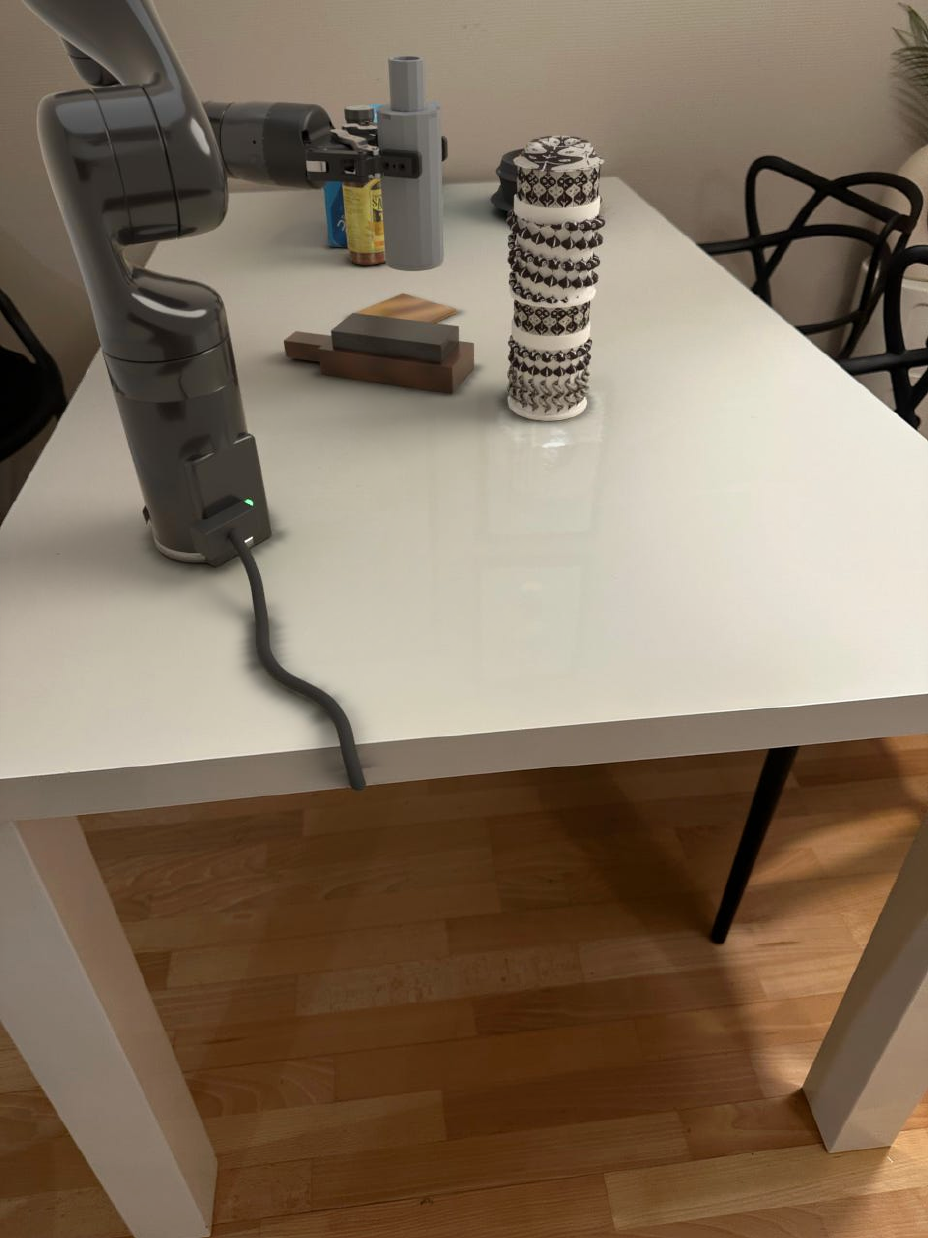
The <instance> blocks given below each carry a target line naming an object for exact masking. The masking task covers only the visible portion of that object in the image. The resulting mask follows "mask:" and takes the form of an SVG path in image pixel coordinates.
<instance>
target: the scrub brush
mask: <svg viewBox="0 0 928 1238" xmlns="http://www.w3.org/2000/svg"><path fill="white" fill-rule="evenodd" d="M330 334H331V335H330ZM330 334H329V335H328V334H321V333H313V332H306V331H300V330H295V331H294V332H293V333H290V335H289V336H288V337H286V338H285V339H284V340H283V346H284V353H285V358H291V359H298V360H305V361H312V362H319V368H320V369H319V371H320V374H321V375H325V376H329V377H330V376H331V377H339V378H345V379H352V380H358V381H359V380H360V381H365V382H372V383H379V384H385V385H392V386H399V387H405V388H412V389H418V390H425V391H431V392H432V391H433V392H439V393H446V394H454V393H455V391H456V390H457V389H458V388H459V386H461V384H462V383H463V382H464V381H465V380H466V378H467V377H468V376H469V375H470V373H471V372H473V370H474V369H475V343H474V342H469V341H462V340H460V326H459V325H454V324H446V323H445V324H444V323H438V322H435V323H430V322H422V321H414V320H406V319H398V318H390V317H382V316H374V315H366V314H358V313H356V312H352V313H351V314H349V315H348V316H347V317H346V318H344V319H343V320H342V321H341V322H340V323H338V324H337V325H335V327H333V328H332V329H331V330H330Z"/></svg>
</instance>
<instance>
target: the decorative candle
mask: <svg viewBox="0 0 928 1238" xmlns="http://www.w3.org/2000/svg"><path fill="white" fill-rule="evenodd" d="M513 161H514V163H515V164H516V165H517V168H518V170H517V182H516V183H517V191H516V194H515V195H514V207H513V209H512V210H510V211H509V212H508V211H507V218H506V220H505V222H506V224H507V226H509V230H510V231H511V233H509V234H508V237H507V240H508V242H507V248H508V249H510V250H509V251H508V257H507V259H506V260H507V263H508V264H509V267H510V270H512V271H510V272H509V275H508V277H509V279H508V285H509V294H510V297H511V298H512V299H514V300H513V318H512V319H511V334H510V336H509V339H508V342H507V345H508V347H509V349H510V350H509V354H508V355H507V360H508V361H509V364H510V365H509V367H508V369H507V372H506V376H507V379H508V380H509V381H508V383H507V386H506V391H507V393H508V394H509V395H508V396H507V405H508V408H509V409H510V410H511V411H512V412H514V413H515V414H516V415H517V416H520V417H523V418H527V419H529V420H534V421H536V420H537V421H542V422H551V421H563V420H566V419H571V418H575V417H577V416H579V414H581V413H583V412H584V411H585V409H586V407H587V405H588V401H587V396H588V390H589V389H590V386H589V384H587V383H589V376H590V375H591V372H590V370H589V369H588V366H589V365H590V363H591V362H590V361H591V359H592V355H591V354H590V353H589V352H590V351H591V349H592V345H593V340H592V339H591V338H590V335H591V324H592V323H591V321H590V311H591V310H590V309H591V308H590V307H591V300H594V297H595V296H596V294H597V289H596V287H595V284H597V283H598V282H599V274H598V273H597V272H595V271H594V270H595V269H596V268H598V267H599V266H600V265H601V259H600V257H599V256H598V255H596V254H595V252H594V248H595V250H596V249H597V247H599V246H601V245H603V243H604V237H603V235H602V234H601V233H599V230H600V229H602V228H603V227H605V225H606V220H605V219H604V217H603V216H602V215H600V207H601V204H600V196H601V195H600V194H599V193H600V192H599V191H600V190H599V188H600V179H601V169H602V167H601V166H602V165H603V164H604V163H605V160H604V159H603V158H602V156H599V155H597V152H596V150H595V148H594V146H593V145H592V144H591V142H590V141H589V140H587V139H585V138H582V137H579V136H574V135H573V136H572V135H546V136H540V137H536V138H534V139H531V140H530V141H529V142H528V143H527V144H526V145H525V147H524V150H523V152H522V154H521V155H519V156H517V157H516V158H515V159H514V160H513ZM598 194H599V195H600V196H599V195H598ZM515 220H516V221H515Z"/></svg>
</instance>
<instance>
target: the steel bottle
mask: <svg viewBox="0 0 928 1238" xmlns="http://www.w3.org/2000/svg"><path fill="white" fill-rule="evenodd" d="M425 63H426V61H425V57H423V56H419V55H395V56H390V57H388V59H387V64H388V84H389V100H390V101H389V102H390V103H384V104H385V105H381V106H379V107H377V108H376V115H377V131H378V147H379V148H381V154H382V150H384V149H393V150H407V151H418V152H420V154H421V155H422V175H421V176H420V177H419V178H417V179H411V178H400V177H389V176H384V174H383V177H382V178H380V180H381V196H382V212H383V229H384V245H385V265H386V266H388V267H389V268H391V269H394V270H397V271H403V272H404V271H405V272H421V271H429V270H432V269H435V268H439V266H441V265H442V264H443V263H444V256H445V254H444V253H445V251H444V250H445V249H444V248H445V247H444V208H443V207H444V205H443V203H444V202H443V199H444V198H443V162H442V148H441V136H442V109H441V106H440V105H439V104H438V105H435V104H431V103H432V102H427V101H426V99H427V98H426V96H427V95H426V67H425V66H426V65H425Z"/></svg>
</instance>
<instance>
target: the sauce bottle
mask: <svg viewBox="0 0 928 1238" xmlns="http://www.w3.org/2000/svg"><path fill="white" fill-rule="evenodd" d="M369 105H370V104H356V105H348V106H345V107H344V108H343V112H344V120H345V122H346V124H358V125H359V126H361V123H363V122H365V121H370V122H374V118H375V114H374V107H372V106H369ZM342 186H343V197H344V209H345V221H346V233H347V244H348V247H347V249H348V253H349V254H348V255H349V260H350V261H351V262H352V263H353V264H356V265H363V266H373V265H379V264H383V263H386V261H385V245H384V229H383V212H382V196H381V180H380V178H379V179H374V178H370V177H369V181H368V182H365V183H356V182H343V183H342Z"/></svg>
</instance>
